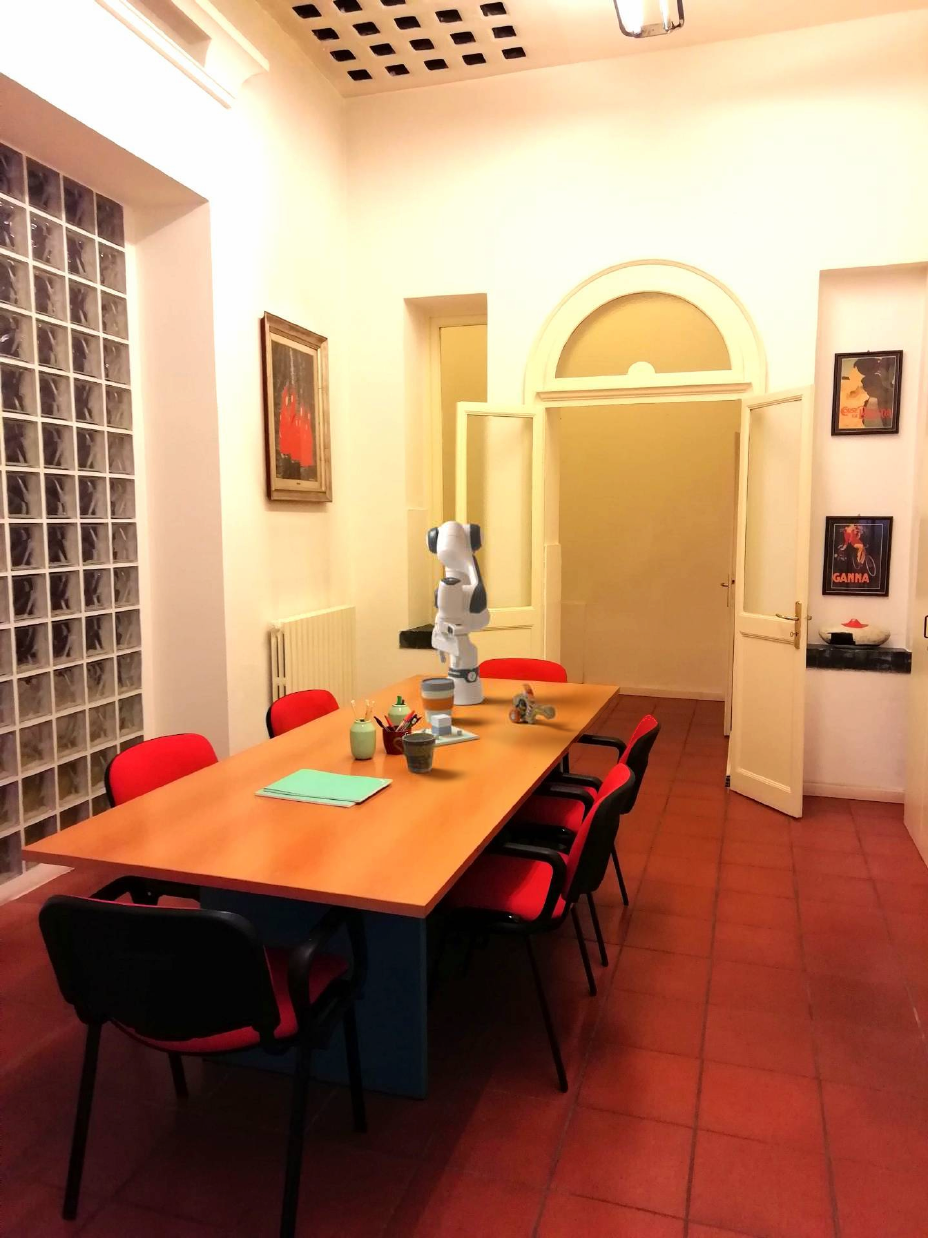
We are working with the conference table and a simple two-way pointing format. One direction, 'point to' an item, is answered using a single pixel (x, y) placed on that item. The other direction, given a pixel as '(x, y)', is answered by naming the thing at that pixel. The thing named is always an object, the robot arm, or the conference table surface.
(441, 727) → the brick stack
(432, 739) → the ceramic cup
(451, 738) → the baseplate
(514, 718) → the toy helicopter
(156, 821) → the conference table surface
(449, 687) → the reusable coffee cup
